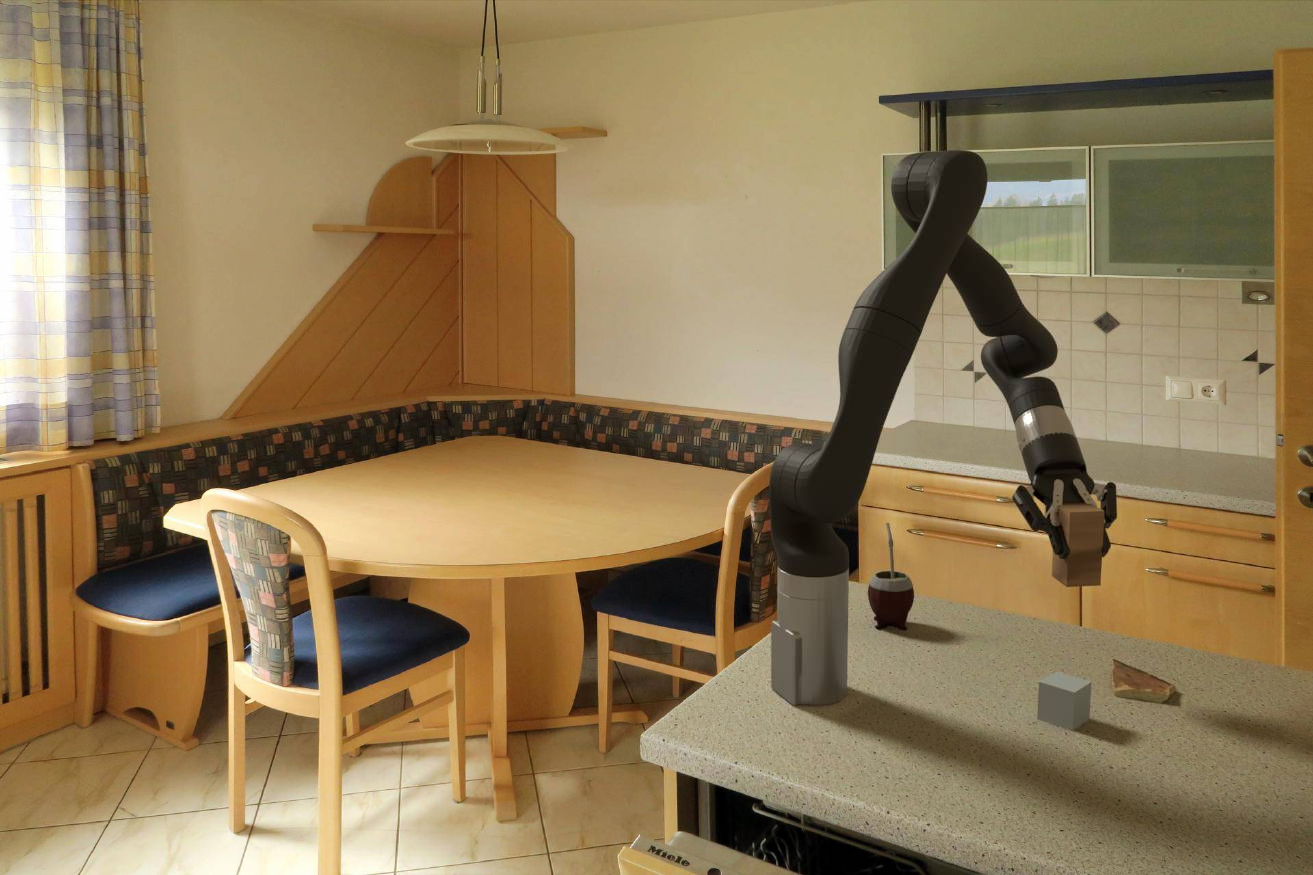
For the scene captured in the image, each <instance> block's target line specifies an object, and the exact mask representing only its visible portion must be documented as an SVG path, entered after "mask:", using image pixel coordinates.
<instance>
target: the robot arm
mask: <svg viewBox="0 0 1313 875" xmlns="http://www.w3.org/2000/svg"><path fill="white" fill-rule="evenodd" d="M987 170H988V169H987V166H986V163H985V161H984V159H983V158H982V157H981V155H979V153H977V152H974V151H971V150H964V149H963V150H962V149H953V150H951V149H950V150H949V149H948V150H937V151H936V150H933V151H919V152H915V153H910V154H908V155H906V156H905V157H903V158H902V159H900V161H899V162H898V163H897V165H896V166H895V169H894V170H893V173H892V177H891V181H890V182H891V183H890V190H891V192H890V193H891V198H892V200H893V204H894V205H895V207H896V210H897V211H898V213H899V214H900V217H902V219H903V220H904V221H905V222H906V224H907V225H908V226H909V227H910V229H911V230H912V231H913V232H914V236H913V238H912V240H910V242H909V244H908V245H907V246H906V247H905V248H904V250H903V251H902V252H900V254H899V255H898V256H897V257H896V258H895V259H893V261H892V262H891V263H890V264H889V265H888V266H887V267H886V268H884V270H882V271H881V272H880V273H878V275H876V277H875V278H874V279H873V280H872V281H871V282H870V284H868V286H867V287H866V288H865V289H864V290H863V291H862V292H861V294H860V296H859V297H858V298H857V300H856V302H855V304H854V307H853V309H852V311H851V314H850V315H849V319H848V321H847V323H846V326H845V327H844V331H843V332H842V336H841V339H840V342H839V346H838V354H837V355H838V361H837V362H838V376H839V377H838V378H839V393H840V395H839V404H838V409H837V412H836V416H835V419H834V421H833V424H832V426H831V429H830V431H829V434H828V435H827V438H826V440H825V442H824V444H823V445H818V444H813V443H808V442H793V443H791V444H789V445H787V446H785V447H784V448H783V449H781V451H779V453H778V454H777V456H776V457H775V459H774V461H773V464H772V467H771V470H770V474H769V475H770V476H769V481H768V482H769V484H768V485H769V487H768V497H769V498H768V499H769V520H770V522H769V523H770V537H771V542H772V543H771V544H772V545H773V548H774V550H775V553H776V557H777V558H776V560H777V588H776V589H777V592H776V593H777V595H776V596H777V605H776V606H777V609H776V610H777V612H776V613H777V616H776V617H777V619H775V620H772V621H771V623H770V624H771V625H770V626H771V627H770V638H771V639H770V641H771V642H770V652H771V653H770V661H771V663H770V670H771V671H770V674H771V675H770V678H771V679H770V688H771V689H772V690H773V691H774V692H776V693H777V694H778V695H779V696H781V697H782V698H783V699H785V700H786V701H787V702H789V704H791V705H794V706H796V705H797V706H798V705H812V706H816V705H818V706H819V705H820V706H823V705H829V704H834V703H837V702H839V701H841V700H843V699H844V698H845V697H846V696H847V694H848V656H849V655H848V653H849V652H848V651H849V650H848V649H849V648H848V647H849V593H850V592H849V588H850V587H849V586H850V583H849V582H850V578H849V576H850V554H849V553H850V552H849V548H848V546H847V544H846V543H845V542H844V541H843V540H842V539H841V538H840V537H839V536H838V534H837V533H836V531H835V530H834V528H833V526H832V524H834V523H838V522H840V521H843V520H844V519H846V518H847V517H848V516H849V515H851V513H852V512H853V511H854V510H855V508H856V507H857V505H858V503H859V501H860V499H861V497H862V495H863V494H864V490H865V487H866V484H867V482H868V479H869V475H870V472H871V468H872V466H873V465H872V464H873V461H874V458H875V454H876V452H877V448H878V445H879V441H880V438H881V434H882V431H883V429H884V425H885V422H886V420H887V417H888V415H889V413H890V410H891V408H892V404H893V402H894V400H895V397H896V394H897V391H898V388H899V386H900V385H901V382H902V379H903V377H904V374H905V372H906V369H907V367H908V366H909V363H910V362H911V359H912V357H913V354H914V351H915V350H916V347H917V345H918V342H919V340H920V338H921V337H920V336H921V335H922V333H923V330H924V327H925V324H926V321H927V319H928V317H929V314H930V311H931V310H932V306H933V305H934V302H935V301H936V298H937V295H938V293H939V291H940V289H941V287H942V284H943V282H944V280H945V279H946V275H947V277H948V278H949V280H950V282H952V284H953V286H954V287H955V289H956V290H957V293H958V294H959V295H960V297H961V299H962V302H963V303H964V305H965V308H966V309H967V311H968V313H969V315H970V317H971V319H972V321H973V322H974V325H975V327H976V328H977V330H978V331H979V332H980V333H981V334H982V335H983V336H986V337H990V338H992V339H990V340H988V341H987V342H985V343H984V345H983V346H982V349H981V351H980V362H981V364H982V367H983V369H984V371H985V372H986V373H987V375H988V376H989V378H990V379H991V380H992V381H993V382H994V384H995V385H996V386H997V387H998V389H999V391H1000V392H1001V394H1002V395H1003V397H1004V399H1005V402H1006V405H1007V406H1008V408H1009V412H1010V415H1011V419H1012V422H1013V424H1014V429H1015V433H1016V435H1015V436H1016V440H1017V443H1018V446H1017V447H1018V449H1019V451H1020V454H1021V458H1022V461H1023V464H1024V468H1025V470H1026V473H1027V476H1028V479H1029V482H1030V485H1028V486H1024V485H1022V484H1021V485H1018V486H1017V487H1016V489H1015V491H1014V493H1013V494H1012V496H1011V500H1012V501H1013V502H1014V504H1015V505H1016V507H1017V508H1018V511H1019V512H1020V514H1021V515H1022V516H1023V518H1024V520H1025V521H1026V523H1027V526H1029V528H1030V529H1031V530H1032V531H1033V532H1039V531H1041V532H1044V533H1046V535H1047V536H1048V539H1049V543H1050V545H1051V546H1050V547H1051V548H1052V553H1053V552H1054V553H1055V555H1058V556H1059V558H1060V559H1065V558H1066V557H1067V556H1068V555H1069V554H1070V548H1069V547H1068V544H1067V541H1066V538H1065V535H1064V532H1063V529H1062V527H1060V526H1059V525H1060V518H1059V515H1058V506H1057V505H1062V503H1086V504H1092V505H1094V506H1096V507H1098V505H1097V503H1096V502H1095V500H1094V499H1093V498H1094V497H1092V493H1094V494H1095V496H1096V498H1097V499H1096V500H1097V501H1098V502H1100V509H1102V510H1104V530H1103V546H1102V558H1105V556H1106V555H1108V553H1109V550H1110V549H1111V547H1112V544H1111V541H1110V538H1109V534H1108V532H1107V529H1109V528H1110V527H1111V526H1112V524H1113V523H1114V522H1115V521H1116V520H1117V518H1118V504H1117V503H1118V502H1117V501H1118V499H1117V485H1116V484H1115V483H1114V482H1113V481H1109V482H1107V483H1106V484H1104V483H1098V482H1095V481H1094V479H1093V478H1092V477H1091V476H1090V475H1089V474H1088V471H1087V464H1086V461H1085V458H1084V456H1083V453H1082V452H1083V451H1082V449H1081V446H1080V444H1079V441H1078V438H1077V436H1076V432H1075V430H1074V427H1073V424H1072V422H1071V420H1070V418H1069V416H1068V415H1067V412H1066V410H1065V408H1064V405H1063V404H1064V403H1063V401H1062V399H1061V398H1062V397H1061V395H1060V392H1059V390H1058V387H1057V385H1056V383H1055V382H1054V381H1053V380H1052V379H1050V378H1048V377H1045V376H1031V375H1034V374H1036V373H1039V372H1042V371H1045V370H1047V369H1049V368H1051V367H1052V366H1053V365H1054V364H1055V363H1056V360H1057V359H1058V352H1059V351H1058V350H1059V349H1058V345H1057V342H1056V339H1055V337H1054V336H1053V335H1052V334H1051V332H1050V331H1049V329H1047V327H1045V326H1044V324H1043V323H1041V322H1040V321H1039V320H1038V319H1037V318H1036V317H1035V316H1034V315H1033V314H1032V313H1031V312H1030V311H1029V310H1028V309H1027V307H1026V306H1025V305H1024V303H1023V301H1022V299H1021V297H1020V295H1019V293H1018V290H1017V289H1016V287H1015V284H1014V283H1013V281H1012V280H1013V279H1012V278H1011V276H1010V274H1008V272H1007V271H1006V269H1005V267H1004V266H1003V265H1002V263H1000V262H999V261H998V260H997V259H996V258H995V257H994V256H993V255H992V254H991V253H990V252H989V251H987V249H985V248H984V247H983V246H982V245H980V244H979V243H978V242H977V241H976V240H975V239H974V238H973V237H972V236H971V235H970V234H969V231H970V230H971V228H972V226H973V224H974V223H975V220H976V218H977V216H978V214H979V212H980V210H981V208H982V205H983V202H984V199H985V196H986V193H987V186H988V179H989V178H988V176H989V175H988V171H987ZM1028 376H1029V377H1028ZM1035 498H1036V499H1037V500H1038V501H1039V502H1040V503H1042V504H1043V506H1044V513H1043V512H1042V510H1041V508H1040V507H1039V505H1038V504H1037V503H1036V501H1035V500H1034V499H1035Z"/></svg>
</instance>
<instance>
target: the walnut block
mask: <svg viewBox="0 0 1313 875" xmlns="http://www.w3.org/2000/svg"><path fill="white" fill-rule="evenodd" d="M1057 506H1058V515H1059V518H1060V525H1059V526H1060V527H1062V529H1063V532H1064V535H1065V538H1066V541H1067V544H1068V547H1069V548H1070V554H1069V555H1068V556H1067V557H1066V558H1065V559H1060V558H1059V556H1058V555H1055V553H1054V552H1053V551H1052V563H1051V577H1052V578H1054V580H1057V581H1058V582H1059V583H1060V584H1062V585H1063V586H1065V587H1066V588H1073V587H1096V586H1097V587H1098V586H1101V584H1102V583H1101V582H1102V564H1103V562H1102V561H1103V557H1102V546H1103V530H1104V510H1102V509H1101V507H1098V506H1097V507H1096V506H1094V505H1092V504H1086V503H1062V505H1057Z"/></svg>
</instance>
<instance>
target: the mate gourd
mask: <svg viewBox="0 0 1313 875" xmlns="http://www.w3.org/2000/svg"><path fill="white" fill-rule="evenodd" d="M890 526H891V525H890V522H885V527H886V530H887V531H886V532H887V537H888V538H887V539H888V540H887V545H888V548H889V550H888V551H889V564H890V565H889V566H890V570H881V571H877V572H876V573H875V574H873V576H872V577H871V578H870V579H869V581H868V582H869V583H868V586H867V588H868V589H867V598H868V602H869V605H870V608H871V610H872V612H873V614H874V615H875V616H874V617H873V620H874V621H876V624H877V625H875V626H874V627H875V628H876V630H878V631H879V630H883V629H885V628H889V627H892V628H895V629H897V628H898V630H901V631H905V632H906V631H907V630H908V626H907V625H906V624H907V620H908V616H909V613H910V612H911V610H912V607H913V604H914V601H915V590H914V585H913V581H912V580H911V577H909V575H908V574H906V573H904V572H901V571H895V563H894V562H895V561H894V540H893V536H892V531H891V527H890ZM875 628H874V629H875Z"/></svg>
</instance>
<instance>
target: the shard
mask: <svg viewBox="0 0 1313 875" xmlns="http://www.w3.org/2000/svg"><path fill="white" fill-rule="evenodd" d="M1112 668H1113V669H1112V671H1111V678H1112V679H1111V683H1112V684H1111V685H1112V687H1113V688H1112V689H1113V694H1114V697H1120V698H1128V699H1135V700H1143V701H1147V702H1148V701H1149V702H1153V701H1154V702H1153V703H1159V704H1160V703H1164V702H1165V701H1167V699H1169V697H1170V695H1171V693H1172V694H1174V693H1175V692H1176V690H1177V686H1176V685H1174V684H1172V683H1170V682H1168V681H1166V680H1164V679H1161V678H1158V676H1156V675H1153V674H1151V673H1150V672H1149V673H1148V672H1146V671H1145V670H1144V671H1143V670H1142V669H1139V668H1137V667H1134V666H1131V665H1128V664H1126V663H1123V662H1121V661H1119V660H1117V659H1115V658H1112Z"/></svg>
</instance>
